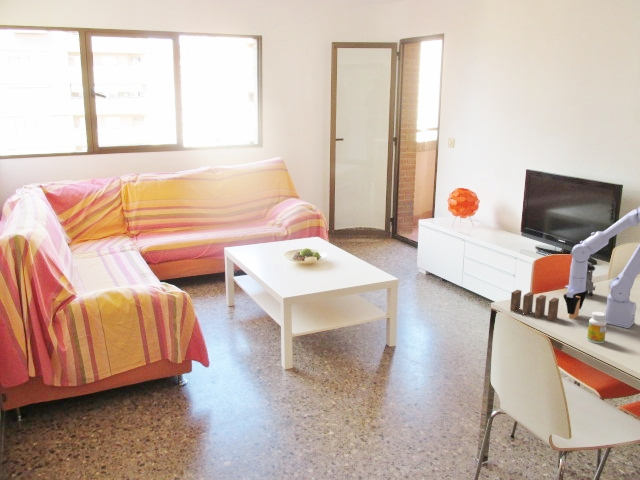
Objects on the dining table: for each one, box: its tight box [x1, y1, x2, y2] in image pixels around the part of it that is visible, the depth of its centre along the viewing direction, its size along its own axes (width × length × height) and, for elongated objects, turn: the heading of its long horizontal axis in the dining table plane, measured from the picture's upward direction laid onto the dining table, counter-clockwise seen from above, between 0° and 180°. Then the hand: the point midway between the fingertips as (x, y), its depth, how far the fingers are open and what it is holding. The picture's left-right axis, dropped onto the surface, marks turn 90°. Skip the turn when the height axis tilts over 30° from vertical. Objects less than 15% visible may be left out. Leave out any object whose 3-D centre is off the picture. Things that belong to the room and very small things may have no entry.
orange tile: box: [568, 296, 580, 320], centre depth 225 cm, size 2×5×8 cm, turn 139°
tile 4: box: [521, 291, 535, 315], centre depth 229 cm, size 2×5×8 cm, turn 139°
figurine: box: [586, 260, 596, 297], centre depth 250 cm, size 9×12×15 cm
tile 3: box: [534, 294, 547, 319], centre depth 226 cm, size 2×5×8 cm, turn 139°
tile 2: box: [546, 297, 560, 322], centre depth 223 cm, size 2×5×8 cm, turn 139°
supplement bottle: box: [586, 311, 607, 344], centre depth 203 cm, size 5×5×10 cm
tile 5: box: [509, 289, 522, 312], centre depth 232 cm, size 2×5×8 cm, turn 139°
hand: (574, 311), depth 226 cm, fingers open, 7 cm apart
